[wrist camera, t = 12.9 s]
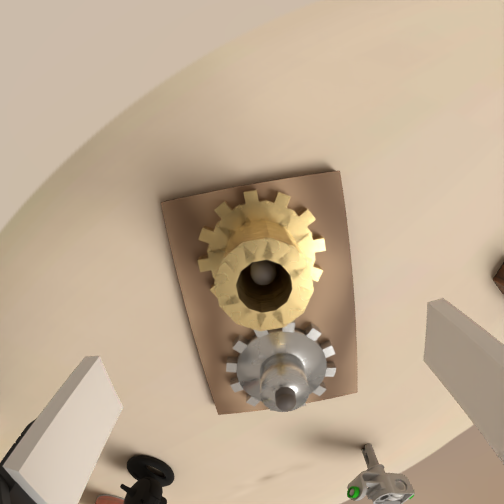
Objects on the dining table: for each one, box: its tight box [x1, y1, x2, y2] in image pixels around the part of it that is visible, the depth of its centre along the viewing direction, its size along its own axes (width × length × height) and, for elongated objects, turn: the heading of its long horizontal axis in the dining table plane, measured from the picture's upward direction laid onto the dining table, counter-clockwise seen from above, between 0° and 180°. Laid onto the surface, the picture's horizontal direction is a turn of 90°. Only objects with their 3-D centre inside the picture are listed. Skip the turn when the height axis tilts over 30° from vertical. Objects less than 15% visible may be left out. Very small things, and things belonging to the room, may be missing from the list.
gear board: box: [161, 171, 357, 415], centre depth 27 cm, size 16×24×8 cm, turn 10°
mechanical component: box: [347, 444, 415, 504], centre depth 32 cm, size 3×10×10 cm, turn 66°
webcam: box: [120, 456, 174, 504], centre depth 34 cm, size 8×8×10 cm
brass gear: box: [198, 189, 326, 331], centre depth 24 cm, size 11×11×9 cm
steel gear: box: [226, 320, 336, 412], centre depth 29 cm, size 11×11×5 cm
